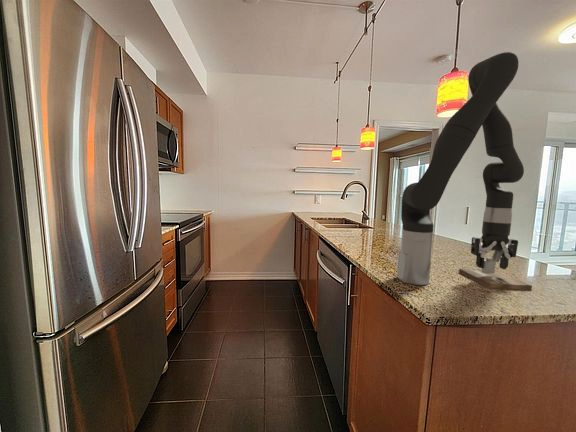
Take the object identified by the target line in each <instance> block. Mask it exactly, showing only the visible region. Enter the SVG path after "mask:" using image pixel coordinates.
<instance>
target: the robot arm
mask: <svg viewBox="0 0 576 432" xmlns="http://www.w3.org/2000/svg"><path fill="white" fill-rule="evenodd" d="M518 69H519V58H518V56H517V55H516V54H515V53H514V52H512V51H505V52H500V53H498V54H497V53H496V54H494V55H493V56H491V57H488V58H485V59H484V60H482V61H480V62H477V63H476V64H475V65H473V67H472V68H471V69H470V71H469V73H468V76H467V77H468V81H467V82H468V86H469V90H470V93H471V95H472V96H471V97H470V98H468V100H467V101H466V102H465V103H464V104H463V105H462V106H461V107H460V108H459V109H458V110H457V111H456V112H455V113H454V114H453V115H452V116H451V118H449V119H448V121H447V122H446V123H445V124H444V127H443V128H442V130H441V131H440V133H439V135H438V137H437V139H436V140H435V141H436V142H435V143H434V147H433V152H432V157H431V160H430V163H429V165H428V167H427V168H426V170H425V172H424V173H423V175H422V176H421V178H420V179H419V181H417V182H413V183H410V184H409V185H407V186H406V187H405V188H404V190H403V192H402V197H401V208H400V209H401V210H400V211H401V212H400V213H401V215H400V219H401V224H402V231H401V232H402V233H401V244H400V250H398V252H397V253H398V254H397V265H396V266H397V267H396V268H397V269H396V278H398V280H399V281H400V282H402V283H405V284H410V285H415V286H425V285H429V283H430V274H431V273H430V272H431V264H432V263H431V261H432V249H433V238H434V237H433V235H434V227H435V226H434V223H433V221H432V220H431V215H430V213H431V212H430V210H433V209H434V208H435V207H436V206H437V205H438V203H439V202H440V201H441V199H442V197H443V194H444V192H445V190H446V188H447V185H448V183H449V181H450V179H451V177H452V175H453V173H454V172H455V170H456V169H457V167H458V165H459V164H460V162H461V161H462V159H463V158H464V156H465V154H466V152H467V151H468V150H469V148H470V147H471V145H472V142H473V141H474V139H475V138H476V136H477V134H478V132H479V130H480V129H481V127H482V131H483V137H484V144H485V145H484V146H485V152H486V155H487V156H488V157H492V158H497V159H500V161H497V162H496V161H495V162H490V163H488V164H486V166H484V168H483V170H482V180H483V184H484V188H485V193H486V200H485V209H484V210H483V218H482V228H481V233H482V236H481V237H475V236H473V237H471V245H470V248H471V249H470V254H472V255H475V256H476V261H475V265H476V267H477V268H480V269H482V268H483V266H484V260H485V256H486V255H487V254H488V253H490V251H495V250H497V251H500V250H501V253H502V255H501V258H500V260H499V268H500V269H501V270H507V268H508V267H509V260H510V259H511V258H516V256H517V251H518V245H519V241H518V240H517V239H514V238H509V237H510V235H511V228H512V227H511V226H512V219H513V218H512V217H513V204H514V203H513V202H514V192H512V191H510V190H507V189H503V188H501V186H500V184H511V183H512V184H513V183H517V182H519V181H520V180H521V179H522V178H523V176H524V174H525V173H524V172H525V167H524V165H523V162H522V160H521V158H520V156H519V155H518V152H517V150H516V149H515V146H514V136H513V129H512V125H511V124H510V123H511V122H510V121H509V119H508V118H507V116H506V115H505V114H504V113H503V112H502V110H501V109H500V107H499V105H498V104H497V102H498V101H499V100H500V98H501V97H502V96H503V94H504V93H505V91H506V90H507V89H508V87H510V86H509V85H511V84H512V82H513V80H514V78H515V76H516V75H517V72H518Z"/></svg>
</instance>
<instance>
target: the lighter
mask: <svg viewBox="0 0 576 432" xmlns="http://www.w3.org/2000/svg"><path fill="white" fill-rule="evenodd" d="M501 255H502V253H501V250H500V251H497V250H494V252H493V254H492V256H491V257H490V256H487V257H485V258H486V259H484V266H483V268H481V269H482V273H485V274H489V273H495V270H496V263H500V258H501V257H502V256H501Z"/></svg>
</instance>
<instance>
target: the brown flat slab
mask: <svg viewBox="0 0 576 432" xmlns="http://www.w3.org/2000/svg"><path fill="white" fill-rule="evenodd" d="M458 273H460V274H461V275H464V276H465V277H467V278H469V279H471V280H473V281H474V282H477V283H479V284H481V285H482V286H485V287H486V288H488V289H504V290H505V289H506V290H525V291H532V289H533V285H532V284H530V283H527V282H524V281H522V280H519V279H517V278H514V277H513V276H510V275H508V274H505V273H503V272H501V271H498V270H496V269H495V273H489V274H485V273H482V268H480V269H476V268H459V269H458Z"/></svg>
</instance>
